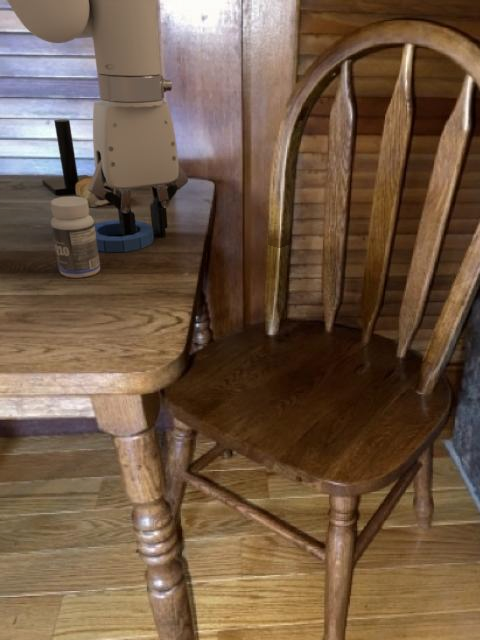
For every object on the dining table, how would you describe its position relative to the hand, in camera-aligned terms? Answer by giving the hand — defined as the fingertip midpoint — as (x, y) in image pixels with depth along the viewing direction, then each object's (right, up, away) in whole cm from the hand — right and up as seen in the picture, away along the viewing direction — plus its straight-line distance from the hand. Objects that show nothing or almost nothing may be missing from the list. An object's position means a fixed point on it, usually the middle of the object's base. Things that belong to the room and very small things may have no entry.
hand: (144, 235), depth 79 cm
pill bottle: (-5, -7, -11) cm, 14 cm away
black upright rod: (-18, +14, +21) cm, 31 cm away
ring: (-3, -1, -2) cm, 4 cm away
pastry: (-11, +9, +15) cm, 21 cm away
